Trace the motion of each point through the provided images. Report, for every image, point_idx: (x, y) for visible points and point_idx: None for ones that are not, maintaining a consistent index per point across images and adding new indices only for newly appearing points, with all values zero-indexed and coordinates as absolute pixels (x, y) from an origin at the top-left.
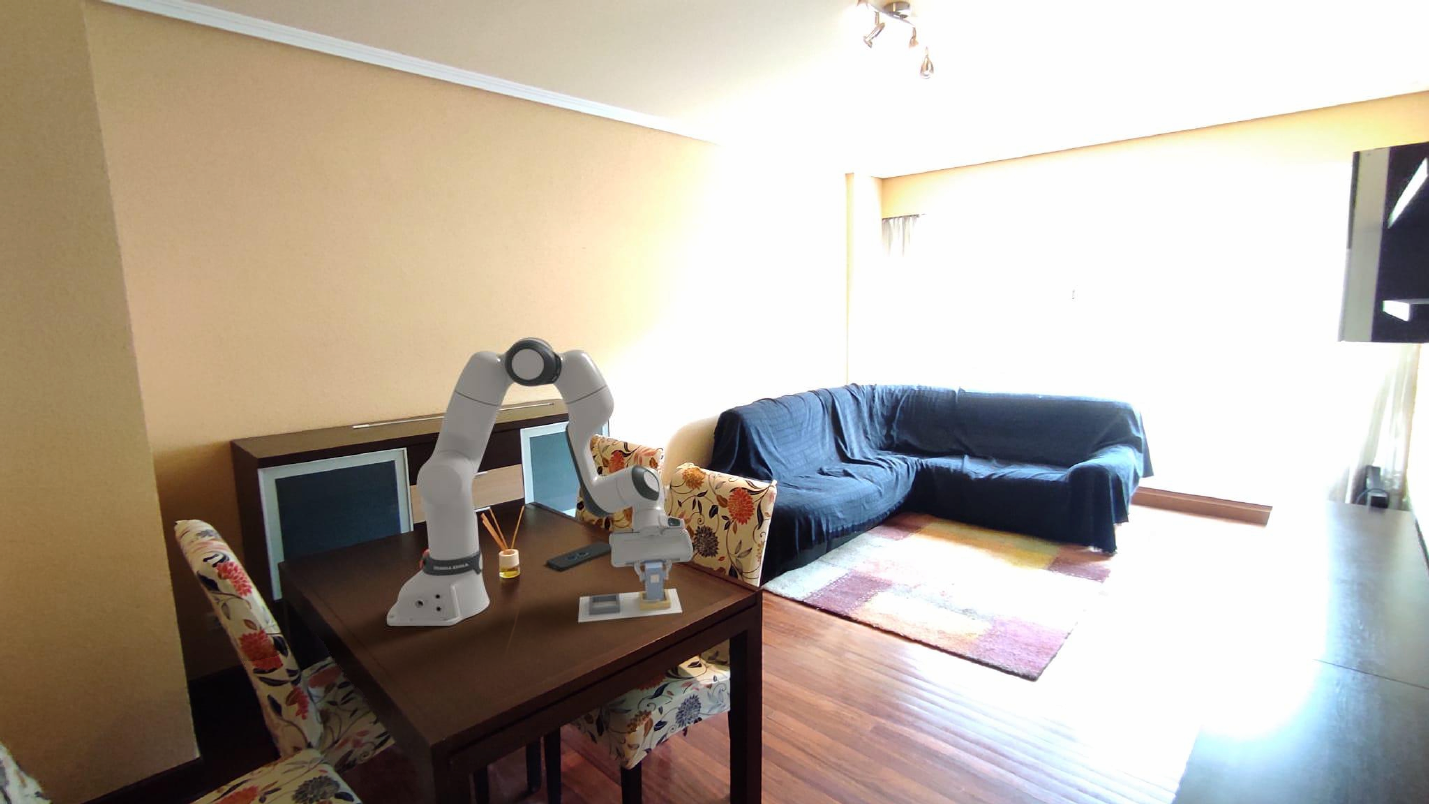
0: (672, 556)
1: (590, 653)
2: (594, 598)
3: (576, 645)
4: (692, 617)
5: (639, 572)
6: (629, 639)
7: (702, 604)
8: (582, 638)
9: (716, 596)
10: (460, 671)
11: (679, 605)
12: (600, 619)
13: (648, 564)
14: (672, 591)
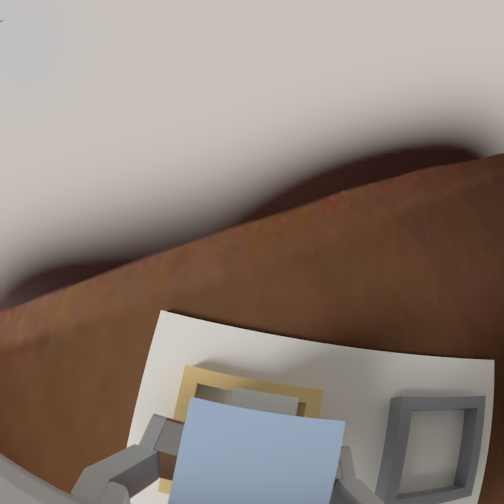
0: (49, 489)
1: (450, 214)
2: (457, 487)
3: (480, 258)
4: (139, 279)
5: (358, 479)
6: (371, 232)
7: (66, 352)
8: (475, 284)
9: (8, 380)
10: None
11: (149, 367)
12: (448, 361)
13: (301, 500)
14: (134, 498)
